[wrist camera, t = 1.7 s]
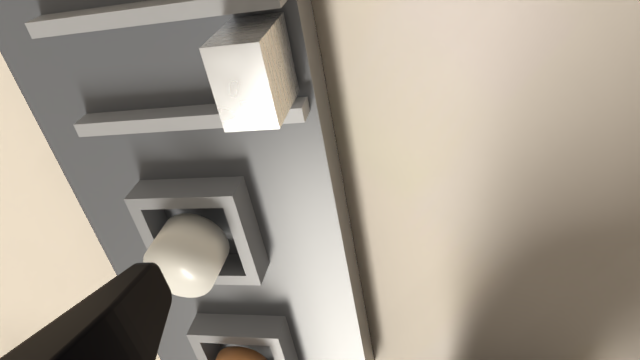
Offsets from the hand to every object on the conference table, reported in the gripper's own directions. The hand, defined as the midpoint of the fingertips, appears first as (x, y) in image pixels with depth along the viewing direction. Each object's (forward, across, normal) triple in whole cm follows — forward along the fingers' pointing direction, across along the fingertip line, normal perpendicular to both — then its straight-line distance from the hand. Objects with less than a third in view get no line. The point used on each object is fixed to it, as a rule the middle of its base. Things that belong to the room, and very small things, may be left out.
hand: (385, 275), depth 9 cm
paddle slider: (+11, +5, 0) cm, 12 cm away
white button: (+10, +10, +7) cm, 16 cm away
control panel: (+13, +10, +7) cm, 18 cm away
